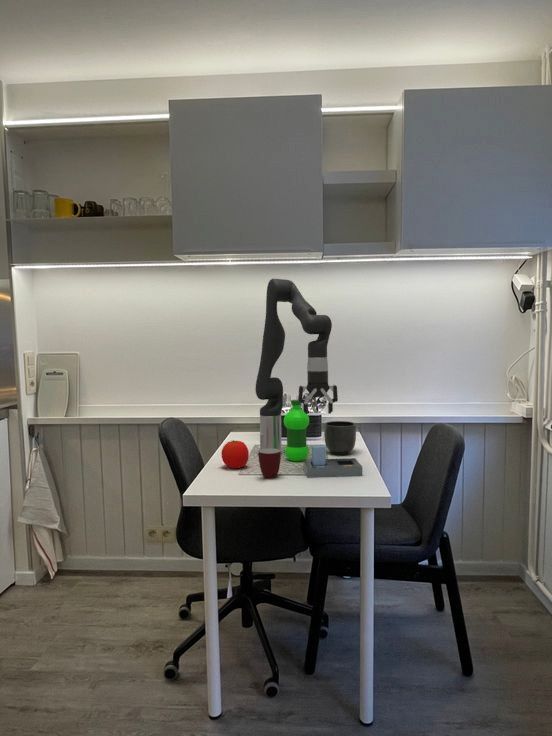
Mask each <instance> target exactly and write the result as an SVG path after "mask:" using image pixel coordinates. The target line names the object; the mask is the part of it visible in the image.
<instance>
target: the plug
mask: <svg viewBox="0 0 552 736" xmlns="http://www.w3.org/2000/svg"><path fill="white" fill-rule="evenodd" d="M326 457H327V456H326V445H325V444H311V460H312V466H318V465H326V459H327V458H326Z"/></svg>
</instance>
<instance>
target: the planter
mask: <svg viewBox="0 0 552 736" xmlns="http://www.w3.org/2000/svg"><path fill="white" fill-rule="evenodd" d="M323 434H324V435H323V436H324V445H325V448H326V449H327V450H328V451H329V452H330V453H331V454H332V455H335V456H347V455H349V454H350V453H351V452H352V451H353V450H354V448H355V445H356V442H357V441H356V439H357V424H356V423H355V422H353V421H346V420H331V421H326V422H324V424H323Z"/></svg>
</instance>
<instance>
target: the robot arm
mask: <svg viewBox="0 0 552 736" xmlns="http://www.w3.org/2000/svg"><path fill="white" fill-rule="evenodd" d="M267 283H268V284H267V286H266V287H267V288H266V296H265V297H266V300H265V320H264V326H263V327H264V328H263V335H262V341H261V342H262V343H261V352H260V353H261V355H260V362H259V367H258V371H257V376H256V381H255V395H256V397H257V398H258V399H259V400H262V401H265V400H266V401H267V402H266V403H265V404H264V405H263V406H261V407H260V409H259V425H260V426H259V427H260V428H259V450H261V449H268V448H273V449H279V450H280V451H281V455H282V453H283V452H282V447H283V446H282V444H283V443H282V409H283V403H284V386H283V382H282V380H281V379H280V378H279V377H274V376H273V377H272V372H273V369H274V367H275V365H276V364H277V362H278V360H279V358H280V357H281V355H282V353H283V352H284V349H285V341H286V340H285V339H286V331H285V329H284V326H283V323H282V322H281V320H280V317H279V315H278V303H290V304H291V312H292V314H293V315H294V317H296V318H297V320H298V321H300V322H299V323H300V324H301V327H302V331H304V333H306V334H307V335H317V339H315V340H312V341H309V342H308V344H307V364H306V366H307V367H306V369H307V384H306V385H305V386H304V385H299V386H298V399H297V400H298V401H299V402H301V403H302V404H303V405H302V406H303V409H302V410H303V411H304V413H305V414H307V415H308V414H309V408H308V407H309V405H308V403H309V401H310V400H311V399H312V398H324V397H325V399H326V400H327V401H328V403H327V410H328V411H327V413H328V415H329V414H332V413H333V410H334V407H333V406H334V405H333V404H334V403H337V402H338V401H339V399H338V396H339V395H338V386H337V385H336V384H333V385H329V363H328V362H329V361H328V345H329V339H330V335H331V332H332V329H333V328H332V326H333V323H332V319H331V318H330V316H328V315H326V314H317V311H316V309H315V308H314V307H313V306H312V305H311V304H310V303H309V302H308V301H307V300H306V299H305V298H304V296H303V295H302V293H301V292H300V290H299V288H298V287H297V285H296V284H295V283H294V282H293V281H292V280H290V279H281V278H271V279H269V281H268V282H267ZM306 390H307V392H308V394H307V395H306V396H305V398H304V399H303V397H304V392H305V391H306ZM329 390H330V391H331V392H332V397H333V398H331V397H330V395H329V394H328V392H329Z"/></svg>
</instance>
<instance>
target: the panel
mask: <svg viewBox="0 0 552 736" xmlns="http://www.w3.org/2000/svg"><path fill="white" fill-rule="evenodd" d="M302 462H303V463H302V465H303V471H304V473H305V476H306V479H307V478H308V479H310V478H311V479H315V478H321V479H322V478H348V477H349V478H351V477H363V466H362V465H361V463H360V462H359V461H358V460H357V458H355V457H354V458H353V457H352V458H351V457H350V458H326V465H318V466H312V459H305V460H303V461H302Z"/></svg>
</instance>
